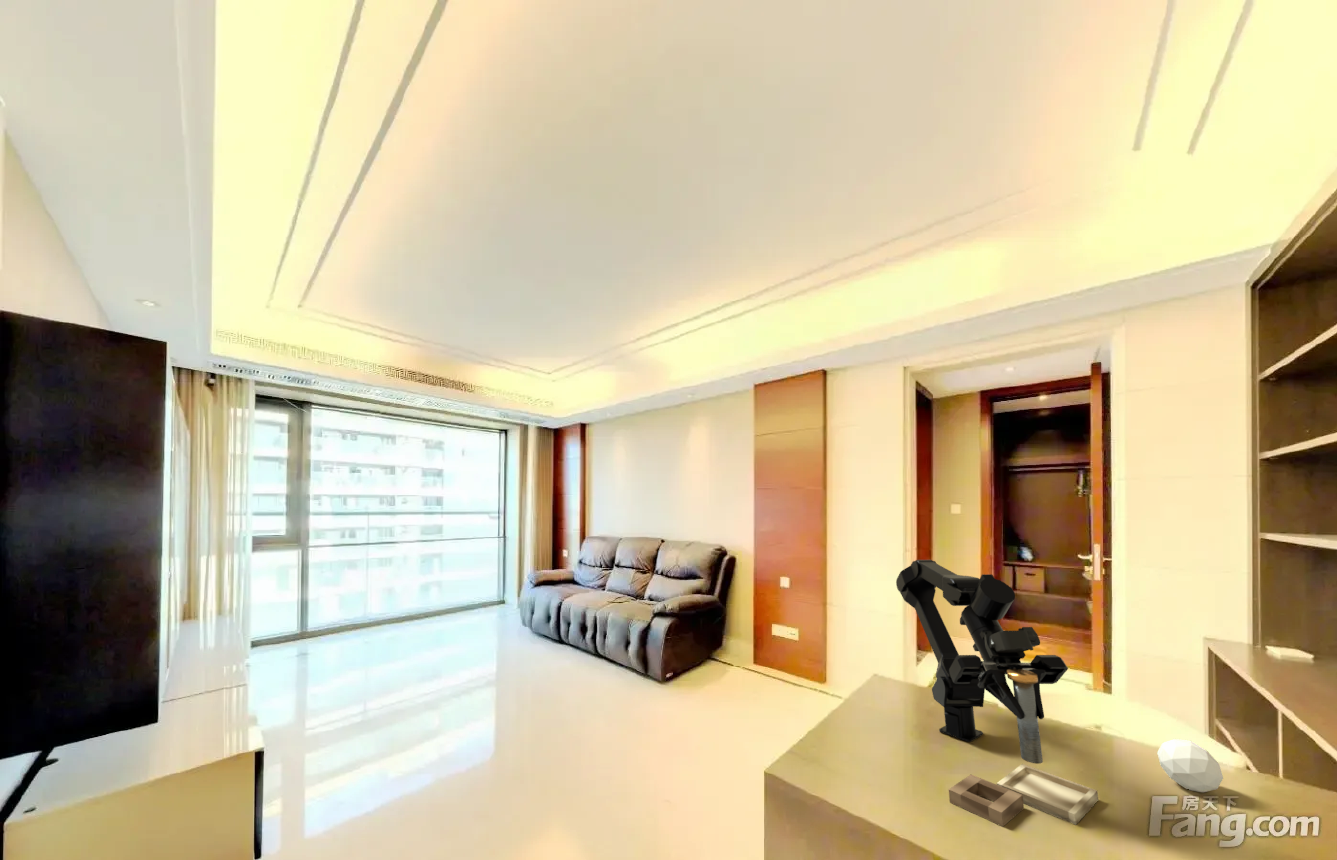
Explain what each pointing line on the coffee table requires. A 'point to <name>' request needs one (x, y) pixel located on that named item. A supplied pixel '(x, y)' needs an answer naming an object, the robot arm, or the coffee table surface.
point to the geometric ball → (1190, 765)
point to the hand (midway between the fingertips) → (1032, 718)
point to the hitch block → (996, 811)
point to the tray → (1051, 793)
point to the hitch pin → (1027, 714)
